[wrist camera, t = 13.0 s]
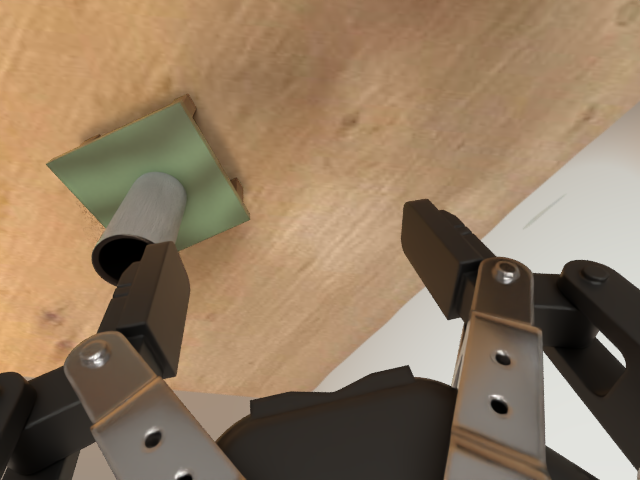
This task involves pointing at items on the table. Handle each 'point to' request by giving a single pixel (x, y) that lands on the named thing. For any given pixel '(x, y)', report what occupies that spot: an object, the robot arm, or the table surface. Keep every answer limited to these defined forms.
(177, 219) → the grey hollow tube
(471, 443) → the robot arm
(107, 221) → the plant stand
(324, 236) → the table surface
